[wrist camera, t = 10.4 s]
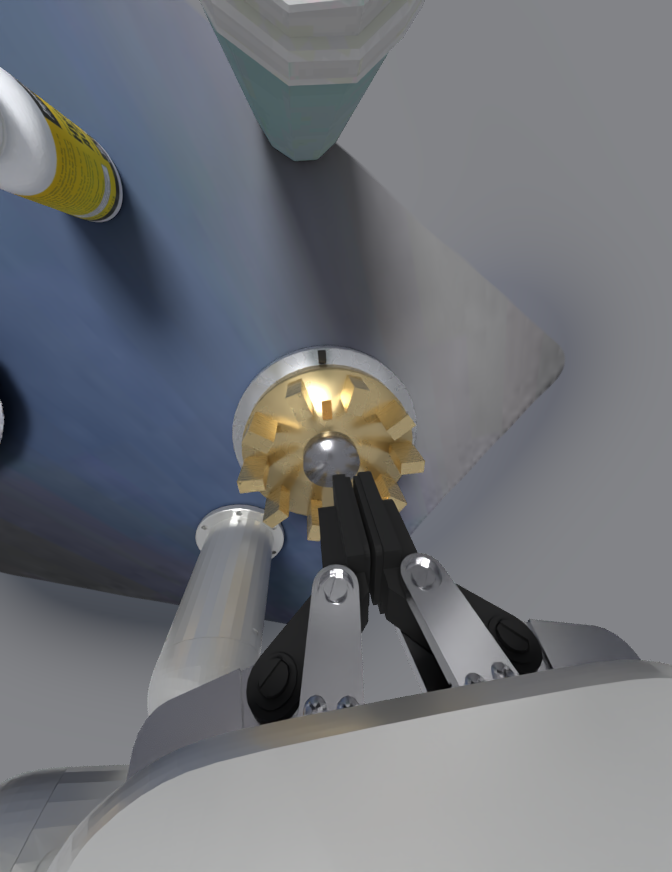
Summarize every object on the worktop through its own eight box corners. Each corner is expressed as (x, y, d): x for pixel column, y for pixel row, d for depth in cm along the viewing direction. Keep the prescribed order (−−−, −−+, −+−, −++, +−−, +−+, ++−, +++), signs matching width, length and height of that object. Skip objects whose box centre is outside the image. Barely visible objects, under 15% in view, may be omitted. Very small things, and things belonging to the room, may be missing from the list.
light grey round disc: (389, 501, 40) (393, 512, 38) (240, 499, 36) (237, 510, 34) (432, 356, 29) (441, 361, 28) (230, 333, 26) (225, 336, 24)
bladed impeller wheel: (399, 494, 36) (417, 531, 31) (263, 511, 35) (255, 552, 29) (412, 357, 27) (440, 373, 21) (226, 371, 26) (205, 393, 20)
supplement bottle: (131, 161, 20) (-1, 57, 11) (119, 238, 22) (-1, 201, 13) (43, 105, 18) (-196, -71, 9) (39, 194, 20) (-160, 118, 11)
